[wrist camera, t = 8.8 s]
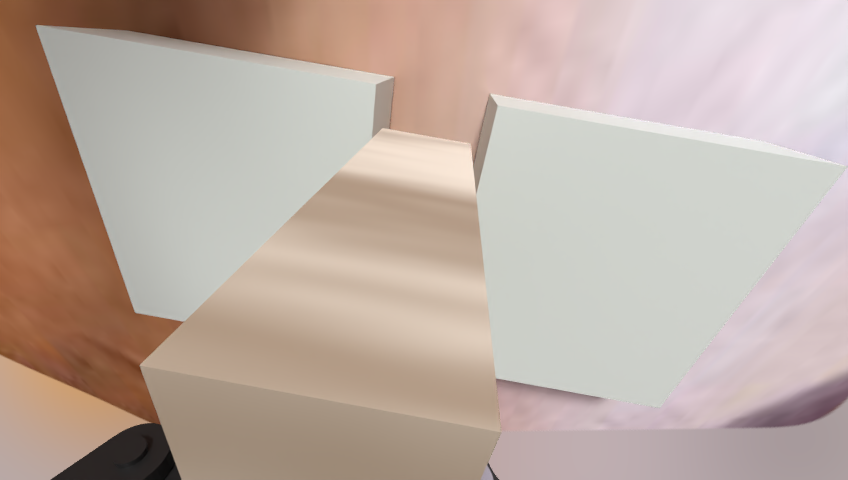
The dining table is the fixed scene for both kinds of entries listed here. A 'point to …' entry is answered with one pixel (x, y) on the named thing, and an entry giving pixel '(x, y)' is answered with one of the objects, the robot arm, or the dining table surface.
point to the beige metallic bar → (345, 335)
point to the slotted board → (495, 191)
